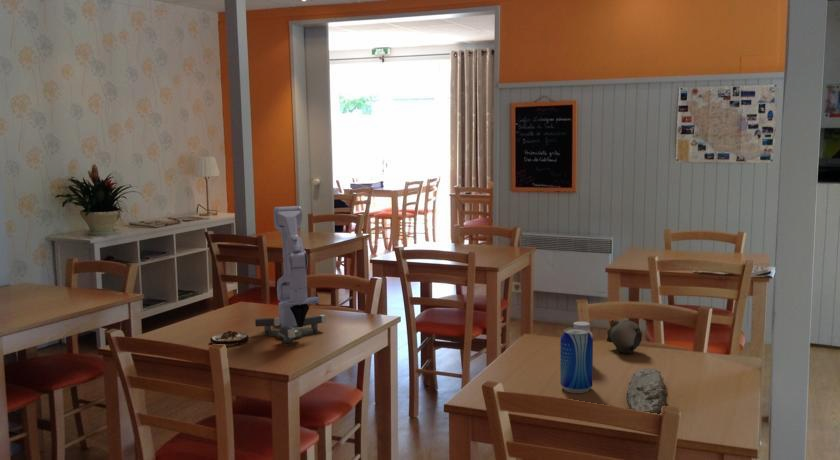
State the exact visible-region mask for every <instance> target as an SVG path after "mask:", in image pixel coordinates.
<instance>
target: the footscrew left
mask: <svg viewBox="0 0 840 460" xmlns="http://www.w3.org/2000/svg"><path fill="white" fill-rule="evenodd" d="M323 323H327V316H326V314H319V315H313V316H305V320H304V325H303V326H309V325H310V326H311V327H310V328H313V331H318V330H319V329H318V327H319V326H318V324H323Z"/></svg>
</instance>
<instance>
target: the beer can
mask: <svg viewBox="0 0 840 460" xmlns="http://www.w3.org/2000/svg"><path fill="white" fill-rule="evenodd" d="M589 331H590V329H589V330H587V329H584V328H574V327H568V328H565V329H564V330H563V334H562V335H561V337H560V355H559V356H560V364H559V365H560V367H559V368H560V371H559V372H560V375H559V376H560V386H561V387H562V389H563V390H564V391H566V392H568V393H570V394H571V393H572V394H584V393H588V392H589V391H590V389H591V388H592V387H593V383H594V381H593V379H594V378H593V376H594V374H593V369H594V367H593V366H594V365H593V364H594V363H593V362H594V361H593V358H594V338H593V339H592V337H591V335H590V334H589Z"/></svg>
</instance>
